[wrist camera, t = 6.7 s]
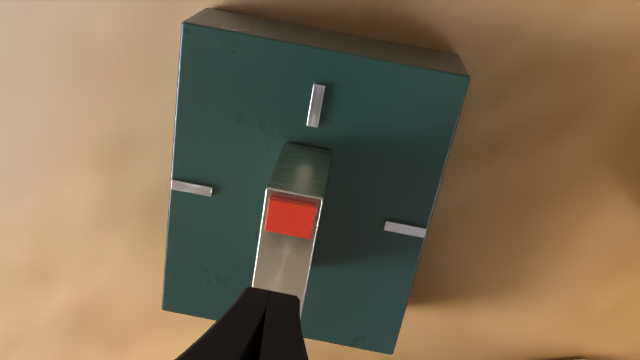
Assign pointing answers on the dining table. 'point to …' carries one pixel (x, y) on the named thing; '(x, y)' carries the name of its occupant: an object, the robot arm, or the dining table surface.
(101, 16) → the dining table surface
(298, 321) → the robot arm
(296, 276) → the hob knob
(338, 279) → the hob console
